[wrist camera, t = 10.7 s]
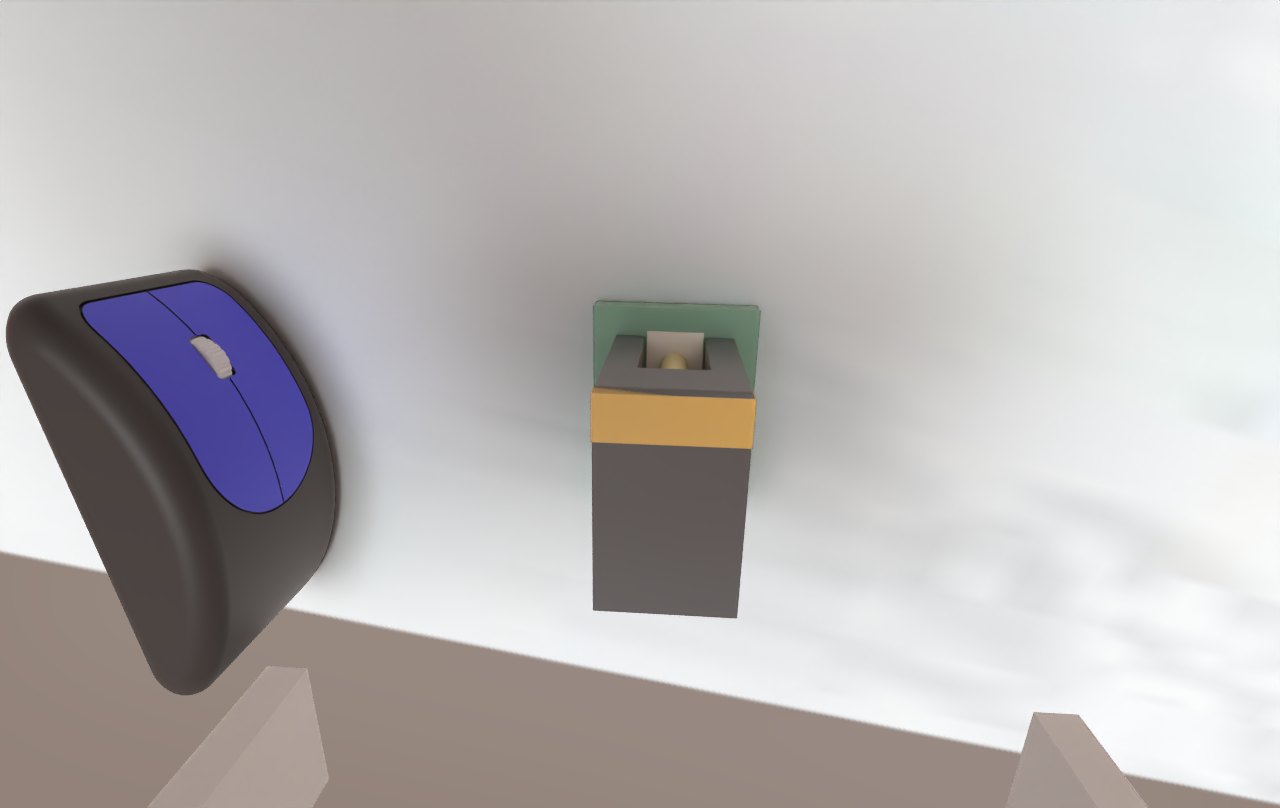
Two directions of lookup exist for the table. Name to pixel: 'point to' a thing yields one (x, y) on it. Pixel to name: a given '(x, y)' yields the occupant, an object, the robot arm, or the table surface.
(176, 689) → the computer mouse
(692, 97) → the table surface
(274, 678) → the robot arm
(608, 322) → the header
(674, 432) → the gray orange-striped box
